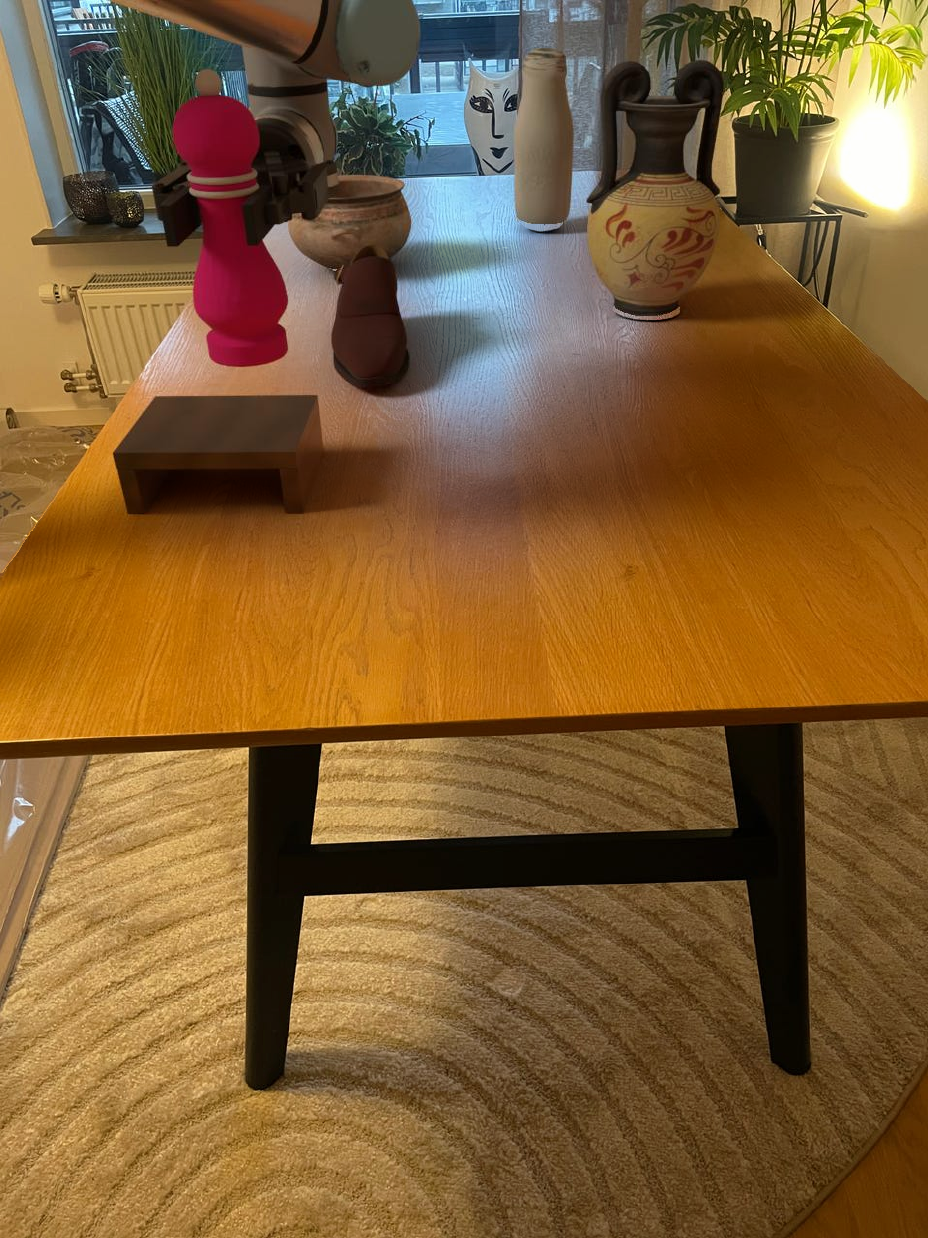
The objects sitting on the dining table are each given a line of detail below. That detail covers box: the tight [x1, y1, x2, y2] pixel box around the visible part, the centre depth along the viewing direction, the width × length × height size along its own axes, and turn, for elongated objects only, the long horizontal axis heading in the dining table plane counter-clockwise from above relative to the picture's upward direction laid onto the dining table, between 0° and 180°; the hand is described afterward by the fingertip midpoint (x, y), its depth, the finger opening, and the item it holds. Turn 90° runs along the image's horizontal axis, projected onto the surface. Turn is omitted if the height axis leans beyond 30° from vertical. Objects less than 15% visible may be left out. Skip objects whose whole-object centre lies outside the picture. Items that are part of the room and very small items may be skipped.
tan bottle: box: [513, 47, 575, 225], centre depth 164 cm, size 10×10×28 cm
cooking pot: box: [287, 174, 412, 269], centre depth 150 cm, size 25×19×12 cm
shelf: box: [112, 394, 325, 515], centre depth 91 cm, size 16×13×6 cm
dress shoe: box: [330, 244, 410, 388], centre depth 117 cm, size 9×28×12 cm, turn 5°
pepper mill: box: [172, 68, 289, 368], centre depth 72 cm, size 7×7×20 cm
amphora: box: [586, 59, 725, 316], centre depth 125 cm, size 18×17×30 cm
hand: (209, 225), depth 67 cm, fingers closed on pepper mill, 5 cm apart
